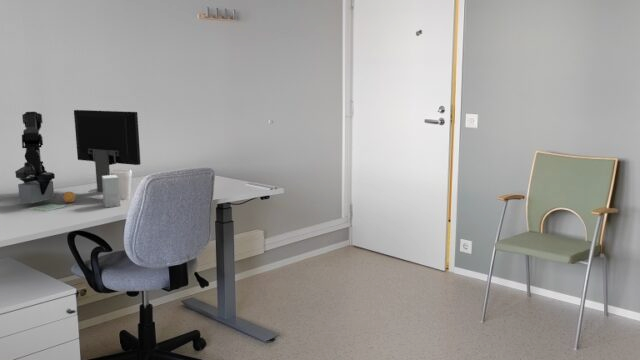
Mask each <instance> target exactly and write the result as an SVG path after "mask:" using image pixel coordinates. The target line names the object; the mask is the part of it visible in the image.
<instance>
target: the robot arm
mask: <svg viewBox="0 0 640 360" xmlns="http://www.w3.org/2000/svg"><path fill="white" fill-rule="evenodd" d="M21 118H22V124H24V127H25V129H23V132H22V133H23V134H21V148H22V149H25V153H24V159H25V161H26V162H25V161H24V165H23V166H21V167H20V168H19V169H17V170H15V172H14V173H15V178H16V179H19V180H20V181H22V182H23V183H27V182H32V181H37V180H38V181H37V182H38V183H39V184H40V189H41V194H42V195H44V194H45V191H46V189H47V187H48V185H49V183H50V181H53V179H55V173H54V172H49V171H47V170H46V168H45V166H44V165H43V164H44V162H43V160H42V159H41V148H42V146H43V145H44V143H43V141H44V140H43V136H42V134H41V133H40V130H41V128H42V124H43V115H42V113H40V112H39V113H38V112H37V111H26V112H25V113H23V114H22V117H21Z"/></svg>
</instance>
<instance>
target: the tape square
mask: <svg viewBox="0 0 640 360" xmlns="http://www.w3.org/2000/svg"><path fill="white" fill-rule="evenodd" d="M65 207H66V205H59V204H52V203H49V204H44V205H40V206H35V207H32V208H31V207H30V210H35V211H40V212H41V211H42V212H48V211H53V210H56V209H60V208H65Z"/></svg>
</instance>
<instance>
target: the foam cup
mask: <svg viewBox="0 0 640 360" xmlns="http://www.w3.org/2000/svg"><path fill="white" fill-rule="evenodd" d="M132 174H133V173H132V170H131V169H115V170H111V171H110V175H116V176H117V177H118V178H119V194H120V201H123V200H129V199H131V188H132Z"/></svg>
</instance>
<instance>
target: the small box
mask: <svg viewBox="0 0 640 360" xmlns="http://www.w3.org/2000/svg"><path fill="white" fill-rule="evenodd" d="M102 187H103V193H102V199H103V201H102V202H103V205H104V206H105V208H111V207H112V208H113V207H119V206H121V200H120V194H119V178H118V177H117V176H116V175H111V174H110V175H107V176H102Z"/></svg>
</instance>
